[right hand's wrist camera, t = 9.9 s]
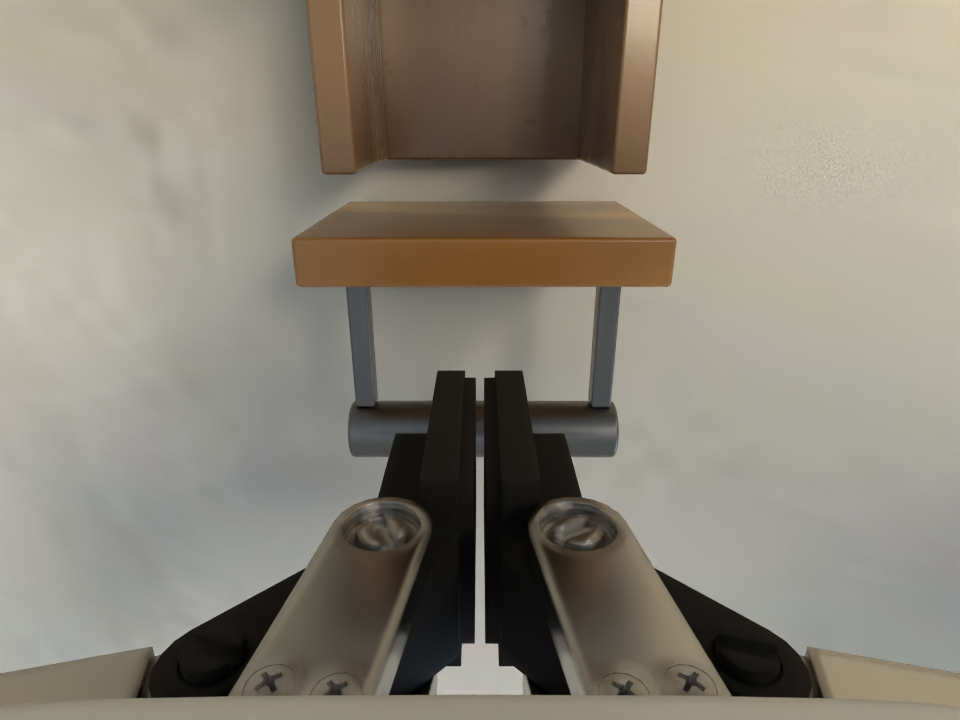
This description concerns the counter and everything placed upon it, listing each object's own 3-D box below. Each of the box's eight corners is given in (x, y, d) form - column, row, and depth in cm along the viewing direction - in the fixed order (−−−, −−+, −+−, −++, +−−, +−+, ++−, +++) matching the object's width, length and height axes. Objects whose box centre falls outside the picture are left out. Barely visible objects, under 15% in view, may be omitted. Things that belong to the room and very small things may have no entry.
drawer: (601, 398, 23) (646, 503, 17) (363, 398, 23) (320, 502, 17) (668, -433, 15) (806, -836, 9) (298, -432, 15) (165, -834, 9)
